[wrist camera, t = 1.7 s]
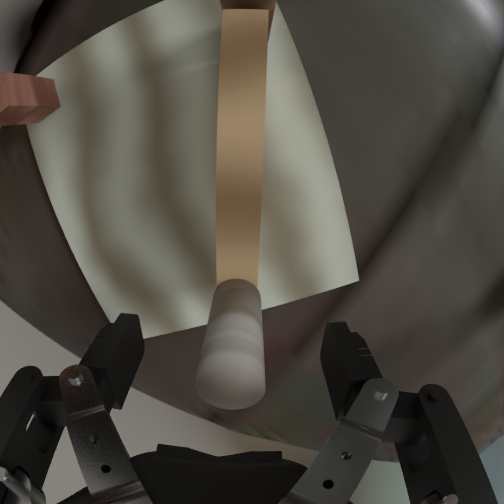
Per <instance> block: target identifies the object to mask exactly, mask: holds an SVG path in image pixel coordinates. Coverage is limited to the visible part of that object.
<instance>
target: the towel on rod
mask: <svg viewBox="0 0 504 504" xmlns="http://www.w3.org/2000/svg"><path fill="white" fill-rule="evenodd" d="M223 9H261V10H269V15H268V47H267V76H266V104H265V130H264V155H263V179H262V202H261V225H260V247H259V268H258V290H259V292H260V296H261V309H262V310H263V309H267V308H270V307H274V306H277V305H281V304H284V303H288V302H291V301H295V300H298V299H302V298H305V297H308V296H312V295H315V294H318V293H321V292H325V291H328V290H331V289H334V288H337V287H341V286H344V285H347V284H350V283H353V282H356V281H359V277H358V271H357V266H356V260H355V255H354V250H353V244H352V239H351V235H350V230H349V225H348V220H347V216H346V211H345V207H344V203H343V198H342V194H341V190H340V186H339V182H338V178H337V174H336V170H335V167H334V163H333V159H332V156H331V152H330V148H329V145H328V141H327V138H326V135H325V131H324V128H323V125H322V121H321V118H320V115H319V112H318V109H317V106H316V103H315V99H314V96H313V94H312V91H311V88H310V85H309V82H308V79H307V76H306V73H305V71H304V68H303V65H302V63H301V60H300V57H299V55H298V52H297V49H296V47H295V44H294V42H293V39H292V37H291V34H290V32H289V29H288V27H287V25H286V22H285V20H284V18H283V15H282V13H281V11H280V9H279V6H278V4H277V2H276V0H164V1H162V2H159V3H157V4H155V5H152V6H150V7H148V8H146V9H143V10H141V11H139V12H137V13H135V14H133V15H131V16H129V17H127V18H125V19H123V20H121V21H119V22H117V23H115V24H114V25H112V26H110V27H108V28H106V29H104V30H103V31H101V32H99V33H98V34H96V35H94V36H93V37H91V38H89V39H88V40H86V41H84V42H83V43H81V44H80V45H78V46H77V47H75V48H74V49H72V50H71V51H69V52H68V53H66V54H65V55H63V56H62V57H60V58H59V59H58V60H56V61H55V62H53V63H52V64H51V65H49V66H48V67H47V68H45V69H44V70H43V71H42V72H40V73H39V74H38V75H36V76H31V75H23V74H15V73H5V72H2V73H1V74H0V126H7V125H18V124H26V126H27V130H28V134H29V137H30V141H31V144H32V148H33V151H34V154H35V158H36V161H37V164H38V167H39V170H40V173H41V176H42V179H43V182H44V184H45V187H46V190H47V193H48V195H49V198H50V201H51V203H52V206H53V208H54V211H55V213H56V216H57V218H58V220H59V223H60V225H61V227H62V230H63V232H64V234H65V237H66V239H67V241H68V243H69V245H70V248H71V250H72V252H73V254H74V256H75V258H76V260H77V262H78V264H79V266H80V268H81V270H82V272H83V274H84V276H85V278H86V280H87V282H88V284H89V286H90V287H91V289H92V291H93V293H94V295H95V297H96V298H97V300H98V302H99V304H100V305H101V307H102V309H103V311H104V312H105V314H106V316H107V317H108V319H109V321H110V322H111V323H114V322H115V320H116V319H117V317H118V316H119V314H120V313H130V314H137V315H138V316H139V319H140V324H141V329H142V334H143V339H144V338H149V337H153V336H158V335H162V334H167V333H171V332H176V331H180V330H184V329H189V328H193V327H197V326H201V325H205V324H207V323H208V318H209V313H210V309H211V304H212V300H213V295H214V292H215V290H216V288H217V268H216V160H217V117H218V88H219V65H220V46H221V29H222V14H223Z"/></svg>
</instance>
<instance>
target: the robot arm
mask: <svg viewBox="0 0 504 504" xmlns="http://www.w3.org/2000/svg"><path fill="white" fill-rule="evenodd" d="M143 354H144V339H143V334H142V329H141V324H140V319H139V316H138V315H137V314H130V313H120V314H119V316H118V317H117V319H116V320H115V322H114V323H109V324H107V325H106V326H104V327H103V328H102V329H101V330H100V332H99V333H98V335H97V336H96V338H95V339H94V341H93V342H92V344H91V345H90V347H89V349H88V350H87V352H86V353H85V355H84V357H83V358H82V360H81V361H80V363H79V365H72V366H69V367H67V368H66V369H64V370H63V371H62V372H61V374H60V376H43V375H42V373H41V371H40V369H39V368H37V367H35V366H26V367H23V368H21V369H20V370H18V371H17V372H16V373H15V375H14V377H13V378H12V379H11V381H10V383H9V384H8V386H7V387H6V389H5V390H4V392H3V394H2V395H1V397H0V504H46V497H45V494H44V492H43V491H42V487H43V484H44V481H45V478H46V475H47V472H48V469H49V466H50V464H51V461H52V458H53V455H54V452H55V450H56V447H57V445H58V442H59V440H60V437H61V435H62V432H63V430H64V427H65V426H67V430H68V433H69V436H70V440H71V443H72V446H73V449H74V452H75V455H76V458H77V461H78V464H79V466H80V469H81V472H82V474H83V477H84V479H85V482H86V484H87V486H86V487H85V488H83V489H81V490H80V491H78V492H76V493H75V494H73V495H71V496H70V497H68V498H66V499H64V500H63V501H61V502H59V503H57V504H353V503H352V502H350V501H349V500H350V498H351V496H352V494H353V493H354V491H355V489H356V488H357V486H358V484H359V483H360V481H361V479H362V477H363V475H364V474H365V472H366V470H367V468H368V466H369V464H370V462H371V460H372V458H373V456H374V454H375V452H376V450H377V448H378V446H379V444H380V442H390V443H394V444H395V448H396V451H397V455H398V458H399V462H400V465H401V468H402V472H403V476H404V480H405V483H406V488H407V492H408V496H409V500H410V504H498V503H497V500H496V497H495V494H494V491H493V489H492V486H491V484H490V481H489V478H488V476H487V473H486V471H485V469H484V466H483V464H482V461H481V459H480V457H479V454H478V452H477V450H476V448H475V445H474V443H473V441H472V439H471V437H470V435H469V433H468V430H467V428H466V426H465V424H464V422H463V420H462V418H461V416H460V414H459V412H458V410H457V408H456V406H455V404H454V402H453V400H452V399H451V397H450V395H449V393H448V392H447V390H446V389H444V388H443V387H441V386H439V385H436V384H427V385H424V386H423V387H422V388H421V389H420V391H419V392H418V393H409V392H401V391H398V389H397V387H396V386H395V384H393V383H392V382H391V381H389V380H387V379H383V377H382V375H381V373H380V371H379V369H378V367H377V364H376V362H375V360H374V358H373V356H371V352H370V350H369V349H368V346H367V344H366V342H365V340H364V339H363V338H362V337H361V336H360V335H359V334H358V333H357V332H350V330H349V328H348V326H347V324H346V322H345V321H333V322H327V324H326V328H325V332H324V337H323V342H322V347H321V353H320V359H321V365H322V368H323V372H324V376H325V379H326V383H327V387H328V390H329V394H330V398H331V402H332V405H333V409H334V413H335V417H336V421H337V420H341V421H340V423H339V424H338V426H337V427H336V429H335V430H334V432H333V433H332V435H331V436H330V438H329V439H328V441H327V442H326V444H325V445H324V447H323V448H322V450H321V451H320V452H319V454H318V455H317V457H316V458H315V460H314V461H313V462H312V463H311V465H310V466H309V468H307V467H305V466H303V465H301V464H299V463H296V462H293V461H290V460H285V459H282V452H281V451H262V452H261V451H259V452H258V451H252V452H251V451H250V452H245V453H240V454H234V455H228V456H220V457H217V456H213V455H210V454H206V453H203V452H199V451H196V450H193V449H190V448H187V447H179V446H171V445H164V444H158V446H157V451H154V452H147V453H143V454H139V455H136V456H134V457H132V458H130V456H129V454H128V452H127V450H126V448H125V446H124V444H123V442H122V440H121V438H120V436H119V434H118V432H117V430H116V427H115V425H114V423H113V421H112V419H111V416H110V411H111V409H112V408H115V409H119V410H121V409H122V406H123V404H124V401H125V399H126V396H127V394H128V391H129V389H130V386H131V384H132V381H133V379H134V376H135V374H136V372H137V369H138V367H139V364H140V362H141V360H142V357H143ZM32 414H33V415H34V417H33V419H32V421H31V423H30V425H29V427H28V429H27V431H26V427H27V424H28V422H29V420H30V418H31V416H32Z"/></svg>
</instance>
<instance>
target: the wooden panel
mask: <svg viewBox="0 0 504 504" xmlns="http://www.w3.org/2000/svg"><path fill="white" fill-rule="evenodd" d="M268 15H269V10H261V9H223V14H222V29H221V46H220V65H219V88H218V117H217V160H216V268H217V288H216V290H215V292H214V295H213V300H212V304H211V309H210V313H209V318H208V323H207V328H206V332H205V337H204V342H203V347H202V352H201V356H200V361H199V366H198V371H197V376H196V381H195V388H196V391H197V393H198V395H199V396H200V397H201V398H202V399H203V400H204V401H206V402H207V403H209V404H211V405H213V406H215V407H219V408H223V409H243V408H247V407H250V406H252V405H254V404H256V403H257V402H259V401H260V400H261V399H262V397H263V396H264V394H265V368H264V348H263V329H262V309H261V296H260V292H259V290H258V268H259V247H260V225H261V202H262V179H263V155H264V130H265V104H266V76H267V47H268Z"/></svg>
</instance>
